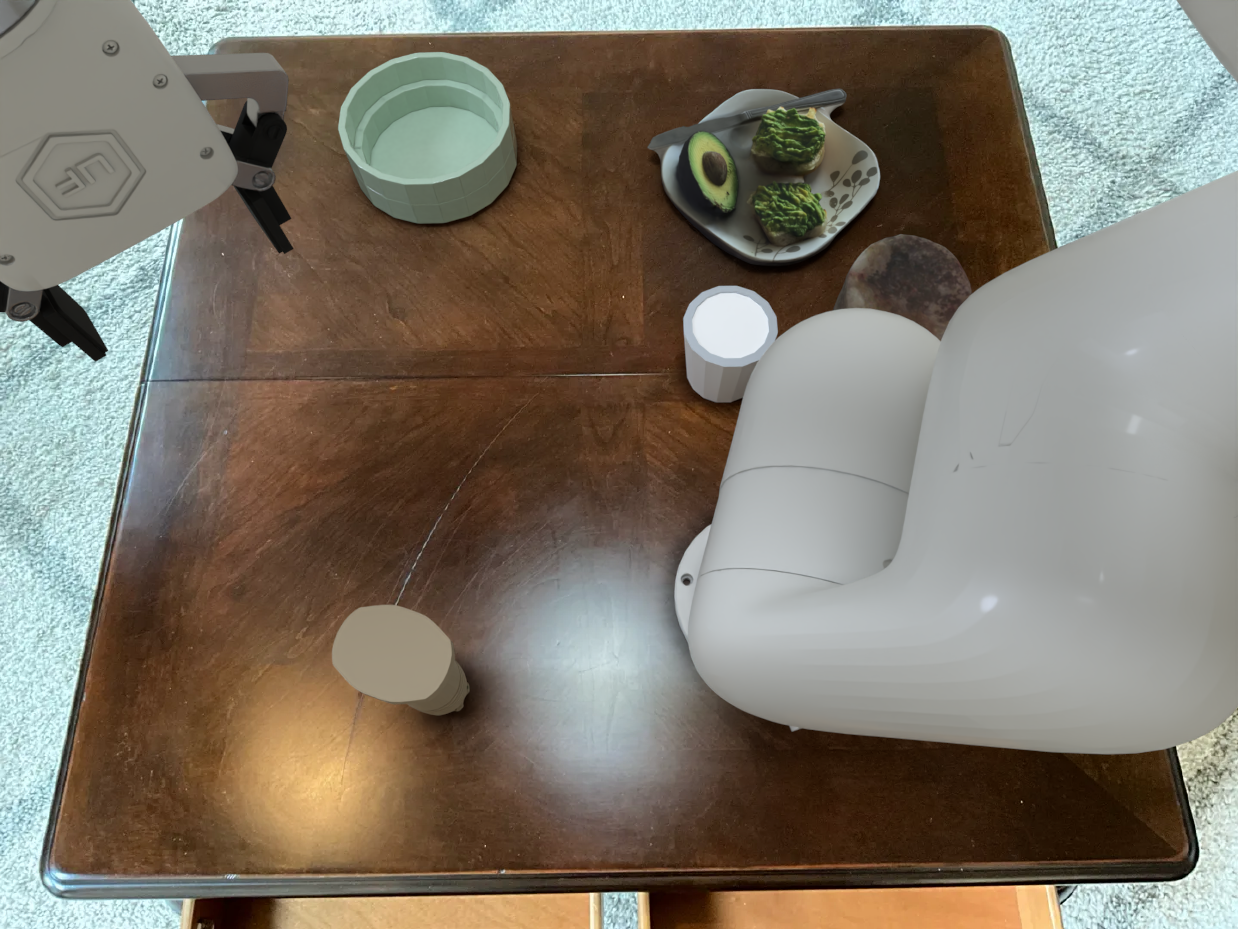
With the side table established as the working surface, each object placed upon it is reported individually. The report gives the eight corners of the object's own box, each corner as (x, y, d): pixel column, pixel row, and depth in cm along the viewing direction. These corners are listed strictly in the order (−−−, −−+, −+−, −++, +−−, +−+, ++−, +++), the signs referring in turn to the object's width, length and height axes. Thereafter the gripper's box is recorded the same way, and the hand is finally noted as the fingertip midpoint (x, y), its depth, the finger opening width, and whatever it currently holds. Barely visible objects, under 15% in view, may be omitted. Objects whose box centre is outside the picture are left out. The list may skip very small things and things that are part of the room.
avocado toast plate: (773, 58, 82) (780, 16, 78) (924, 166, 77) (941, 128, 73) (623, 174, 77) (623, 136, 73) (774, 298, 72) (782, 265, 68)
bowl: (537, 200, 76) (530, 156, 71) (378, 246, 75) (359, 204, 70) (492, 84, 82) (483, 34, 77) (342, 124, 80) (323, 76, 75)
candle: (879, 393, 69) (969, 233, 50) (887, 480, 66) (986, 345, 48) (781, 391, 69) (835, 231, 51) (784, 478, 66) (844, 342, 48)
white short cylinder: (782, 380, 69) (798, 334, 63) (712, 425, 68) (720, 383, 62) (730, 319, 72) (739, 268, 65) (661, 361, 70) (664, 314, 64)
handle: (476, 743, 59) (428, 717, 45) (389, 711, 60) (316, 676, 46) (503, 674, 61) (465, 629, 47) (418, 644, 62) (356, 590, 48)
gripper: (-363, 175, 23) (44, 440, 39) (224, -100, 27) (380, 244, 43) (-421, 13, 26) (-16, 324, 42) (124, -219, 29) (306, 148, 45)
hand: (184, 283), depth 42 cm, fingers open, 9 cm apart
